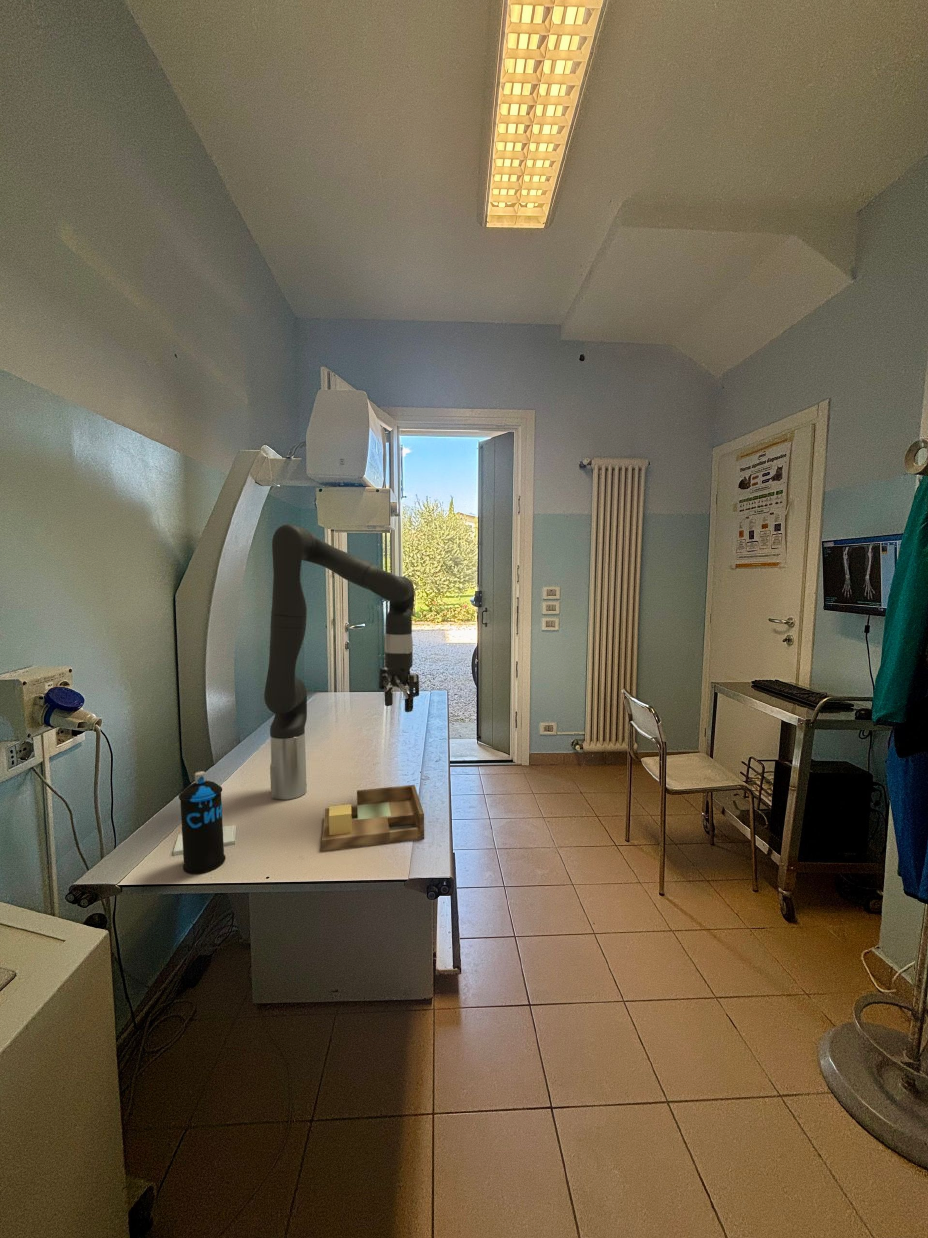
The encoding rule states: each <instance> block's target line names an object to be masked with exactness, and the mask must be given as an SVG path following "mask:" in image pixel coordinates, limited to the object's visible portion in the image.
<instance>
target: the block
mask: <svg viewBox="0 0 928 1238" xmlns="http://www.w3.org/2000/svg"><path fill="white" fill-rule="evenodd" d="M351 806H352V804H340V805H331V806H329V835H335V834H343V833H352V816H351Z"/></svg>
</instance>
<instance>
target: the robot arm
mask: <svg viewBox="0 0 928 1238" xmlns="http://www.w3.org/2000/svg"><path fill="white" fill-rule="evenodd" d="M271 540H272V542H271V548H272V549H271V550H272V551H271V552H272V553H271V554H272V568H273V569H272V570H273V573H272V574H273V578H272V579H273V581H272V596H271V597H272V598H271V599H272V600H271V601H272V602H271V609H270V610H271V612H270V626H269V627H270V629H269V630H270V636H269V637H270V638H269V639H270V640H269V658H268V659H269V661H268V668H267V674H266V675H267V676H266V681H265V686H264V692H263V693H264V694H263V700H264V703H265V705H266V707H267V709H268V710H269V711H270V712H272V713H273V714H274V717H273V721H272V722H271V725H269V727H270V728H269V735H270V737H269V738H270V739H269V740H270V742H269V743H270V761H271V762H270V765H269V776H270V797H271V798H270V799H271V800H273V799H278V800H294V799H297V798H299V797H301V796H304V795H305V794H306V793H307V787H308V785H307V761H306V760H307V759H306V758H307V757H306V734H305V733H306V732H305V728H306V724H307V719H308V717H307V716H308V710H307V709H308V697H307V696H308V694H307V692H308V691H307V688H306V685H305V683H304V681H303V680H302V679H301V678H299V677H298V676H296V667H297V661H298V658H299V655H300V651H301V649H302V645H303V642H304V639H305V636H306V629H307V616H308V609H307V608H308V607H307V603H306V602H307V601H306V598H305V594H304V591H303V586H302V582H301V570H302V569H301V568H302V561H304V562H309V563H312V564H316V565H317V566H318V565H319V566H321V567H324V568H326V569H328V570H330V571H331V572H333V573H334V574H336V575H337V576H339V577H340V578H342V579H344V580H346V581H348V582H350V583H352V584H354V585H356V586H358V587H360V588H362V589H366V590H367V591H371V593H372V592H373V593H374V594H375V595H377V596H379V597H380V598H382V599H385V600H386V601H388V602H389V607H388V608H389V609H388V613H386V617H385V638H384V667H382V668H380V669H379V680H378V681H379V683H378V687H379V690H382V691H383V694H384V706H385V707H391V706H393V703H394V701H393V697H394V693H393V691H394V689H395V687H396V688H398V689H399V690H400V691H401V692H402V694H403V696H404V712H405V713H411V712H412V711H413V710H414V698H416V697H419V696H420V681H419V680H420V679H419V678H420V677H419V673H416V674H412V673H411V668H412V667H413V664H414V663H413V662H414V661H413V656H414V655H413V654H414V653H413V652H414V649H413V648H414V647H413V646H414V643H413V641H414V640H413V617H412V615H413V609H414V600H415V587H414V583H413V582H412V580H411V579H410V578H408V577H407V576H406V577H405V576H400V575H399V576H398V575H395V574H393V573H391V572H389V571H386V570H383V569H382V568H381V567H380V566H379V565H377V564H374V563H373V562H371V561H368V560H366V559H363V558H361V557H360V556H359V557H358V556H355V555H354V554H351V553H349V552H346V551H344V550H341V549H339V548H337V547H335V546H332V545H331V544H329V543H327V542H325V541H324V540H322V539H321V538H319V537H318V536H317V535H315V534H314V533H312V532H311V531H309V530H308V529H306V528H305V527H301V526H298V525H294V524H282V525H280V526H279V527H278V528H277V529H276V530H275V532H274V534H273V536H272V539H271Z"/></svg>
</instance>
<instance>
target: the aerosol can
mask: <svg viewBox="0 0 928 1238" xmlns="http://www.w3.org/2000/svg"><path fill="white" fill-rule="evenodd" d="M222 792H223V787H222V786H221V785H219V784H218V783H216V782H214V781H211V780H206V772H205V771H202V770H201V771H197V772H195V773H194V782H193V783H191V784H189V785H187V786H186V787H185V788H184V789H183V790H182V791H181V792H180V794H179V795H178V799H179V801H180V802H179V803H180V817H181V818H180V820H181V834H182V840H183V854H182V855H183V865H182V871H183V872H185V873H187V874H190V875H200V874H205V873H208V872H212V871H214V870H216V869H218V868H219V867H221V866H222V865H223V864H224V862H225V861H226V859H227V858H226V855H225V849H224V848H225V846H224V843H223V827H224V825H223V806H222V805H223V804H222V803H223V802H222Z"/></svg>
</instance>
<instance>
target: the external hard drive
mask: <svg viewBox="0 0 928 1238" xmlns="http://www.w3.org/2000/svg"><path fill="white" fill-rule="evenodd" d="M236 835H237V824H232V825H228V826H227V825H226V826H223V843H224V847H228V846H235V845H236ZM175 841H176V842H175V845H174V847H173V848H174V849H173V851H172V853H173V857H175V856H176V857H177V856H181V855H183V840H182V833H179V834H178V835H177V838H176V840H175Z"/></svg>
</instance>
